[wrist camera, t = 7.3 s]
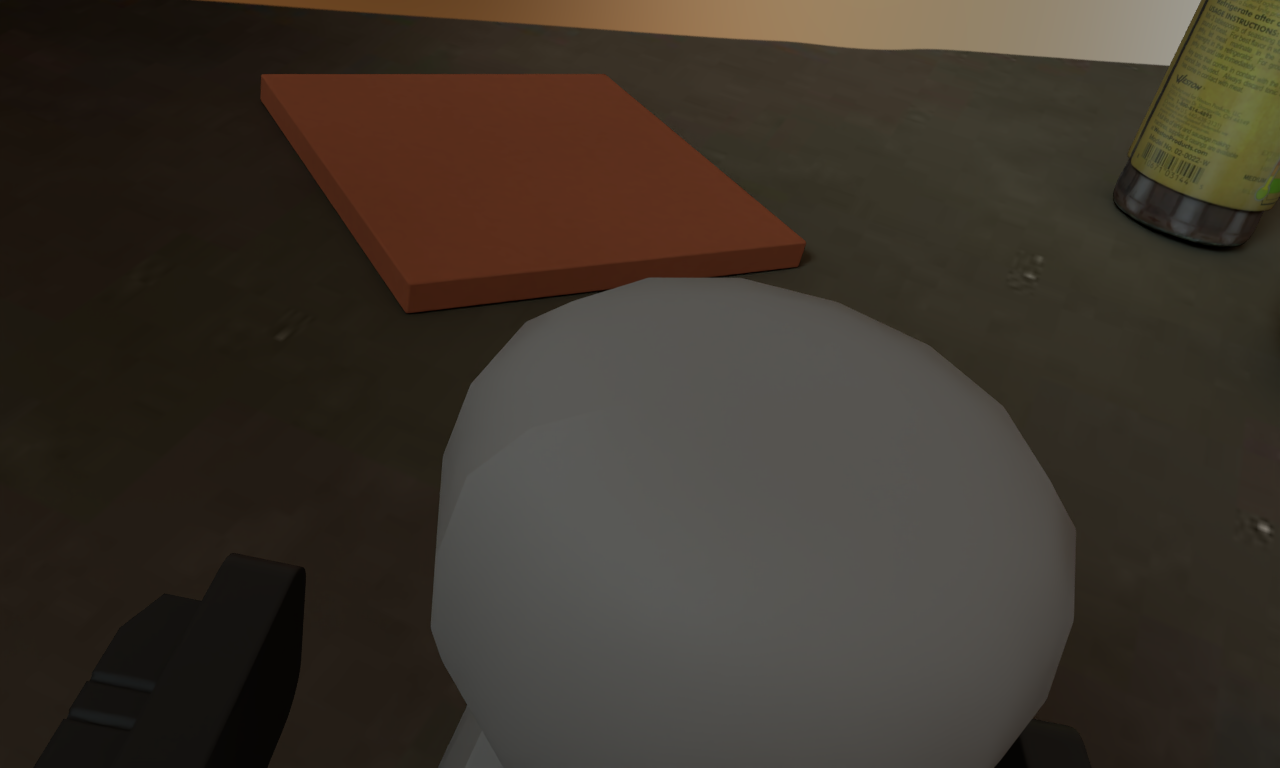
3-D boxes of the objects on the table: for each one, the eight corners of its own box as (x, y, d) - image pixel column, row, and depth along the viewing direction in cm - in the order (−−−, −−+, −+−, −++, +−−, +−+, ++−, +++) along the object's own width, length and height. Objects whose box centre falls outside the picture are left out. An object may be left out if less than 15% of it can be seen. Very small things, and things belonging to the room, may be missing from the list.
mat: (405, 314, 30) (409, 283, 30) (260, 100, 39) (260, 73, 39) (798, 267, 38) (807, 241, 37) (600, 96, 47) (605, 73, 46)
